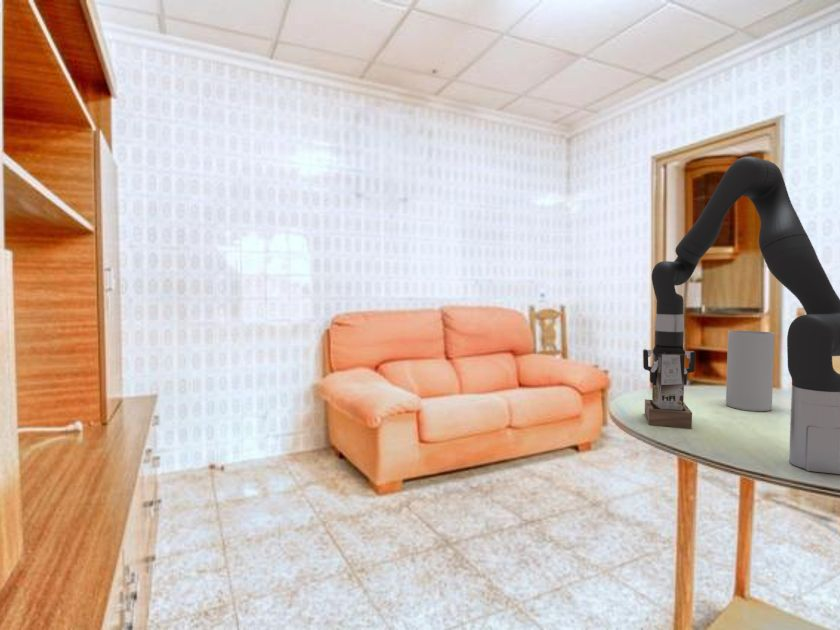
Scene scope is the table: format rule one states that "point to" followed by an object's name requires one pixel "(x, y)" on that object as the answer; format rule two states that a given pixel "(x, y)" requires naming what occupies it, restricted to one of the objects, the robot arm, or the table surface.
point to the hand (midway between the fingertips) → (667, 385)
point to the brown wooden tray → (668, 416)
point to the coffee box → (669, 381)
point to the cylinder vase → (750, 370)
